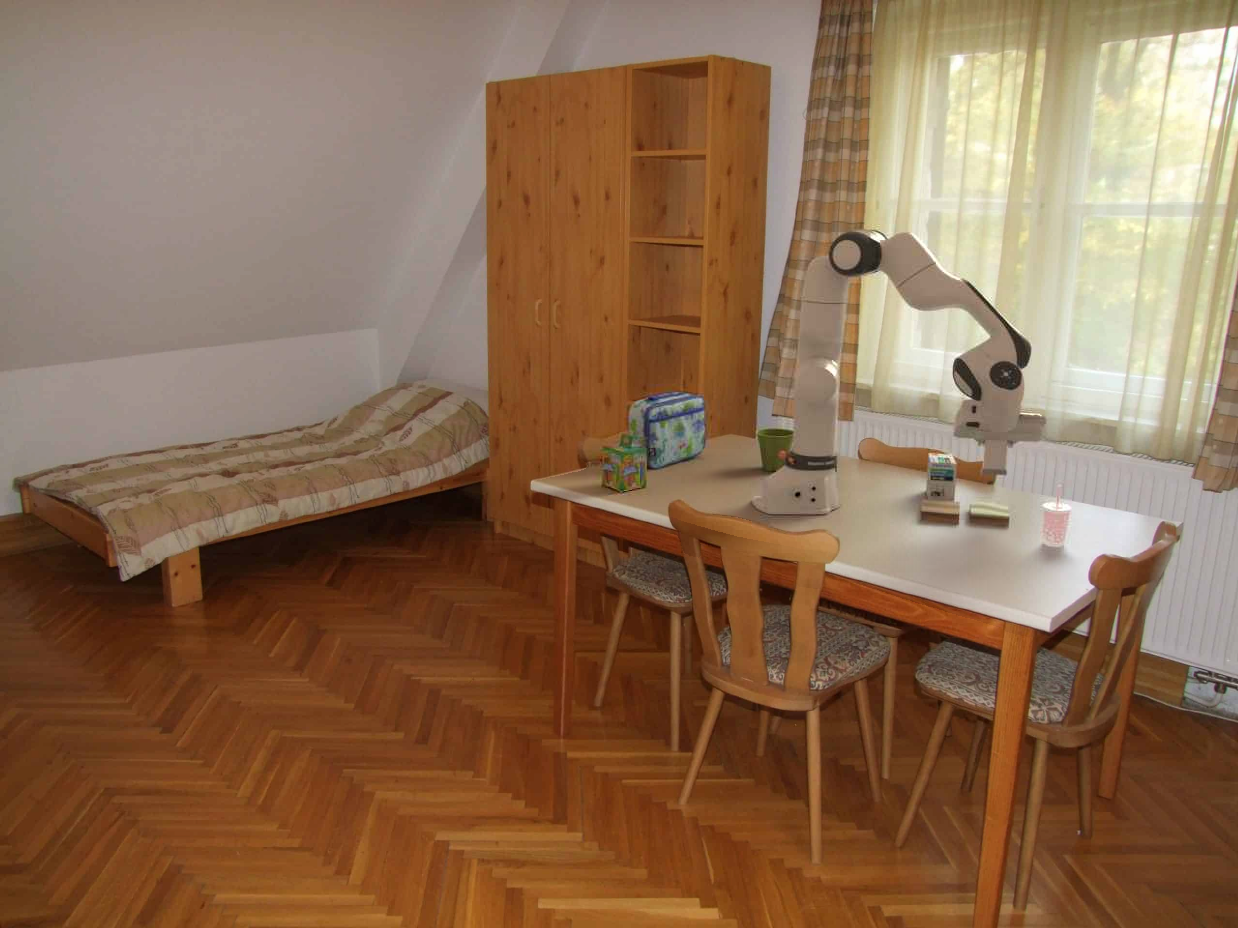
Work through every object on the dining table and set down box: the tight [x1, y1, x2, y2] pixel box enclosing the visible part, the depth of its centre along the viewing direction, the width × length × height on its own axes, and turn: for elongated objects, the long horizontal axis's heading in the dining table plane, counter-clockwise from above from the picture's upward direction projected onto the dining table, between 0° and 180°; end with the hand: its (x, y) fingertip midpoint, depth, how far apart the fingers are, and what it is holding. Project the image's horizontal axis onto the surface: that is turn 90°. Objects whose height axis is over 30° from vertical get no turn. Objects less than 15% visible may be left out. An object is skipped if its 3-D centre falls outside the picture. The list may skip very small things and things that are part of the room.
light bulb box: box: [925, 452, 958, 502], centre depth 277 cm, size 11×7×11 cm, turn 168°
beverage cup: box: [1042, 484, 1073, 548], centre depth 239 cm, size 6×6×14 cm
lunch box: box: [628, 391, 707, 470], centre depth 313 cm, size 26×11×21 cm, turn 133°
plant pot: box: [755, 427, 793, 472], centre depth 305 cm, size 12×12×11 cm
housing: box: [980, 439, 1008, 476], centre depth 254 cm, size 8×6×10 cm
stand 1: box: [920, 498, 961, 525], centre depth 261 cm, size 11×9×2 cm
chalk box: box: [601, 433, 648, 491], centre depth 287 cm, size 9×9×15 cm
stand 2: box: [969, 500, 1010, 527], centre depth 259 cm, size 11×9×2 cm
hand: (995, 444), depth 255 cm, fingers closed on housing, 5 cm apart
